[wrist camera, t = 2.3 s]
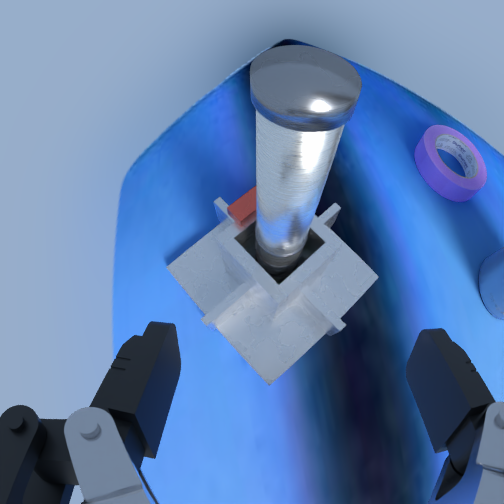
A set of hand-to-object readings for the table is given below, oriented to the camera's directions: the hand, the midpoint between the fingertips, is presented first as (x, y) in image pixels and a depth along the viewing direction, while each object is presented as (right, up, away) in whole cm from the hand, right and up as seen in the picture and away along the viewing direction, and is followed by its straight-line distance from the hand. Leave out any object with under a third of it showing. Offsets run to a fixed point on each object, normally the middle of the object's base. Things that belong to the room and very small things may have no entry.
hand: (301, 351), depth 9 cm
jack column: (+1, +1, +22) cm, 22 cm away
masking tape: (+28, +16, +30) cm, 43 cm away
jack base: (+1, 0, +24) cm, 24 cm away
